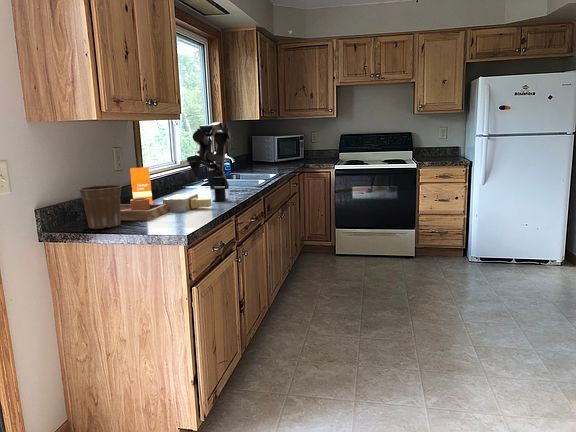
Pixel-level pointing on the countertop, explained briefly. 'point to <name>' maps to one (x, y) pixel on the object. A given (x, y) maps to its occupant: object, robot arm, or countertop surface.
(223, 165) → the robot arm
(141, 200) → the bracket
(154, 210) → the tray
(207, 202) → the end cover
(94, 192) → the plant pot
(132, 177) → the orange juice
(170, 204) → the white rectangular box
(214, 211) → the countertop surface
